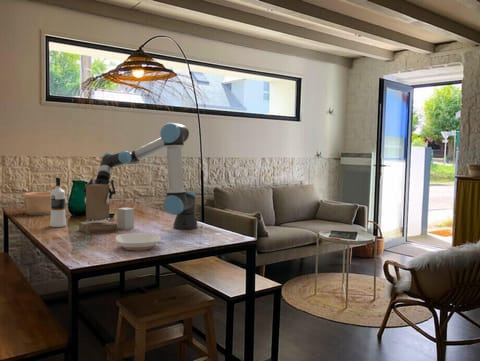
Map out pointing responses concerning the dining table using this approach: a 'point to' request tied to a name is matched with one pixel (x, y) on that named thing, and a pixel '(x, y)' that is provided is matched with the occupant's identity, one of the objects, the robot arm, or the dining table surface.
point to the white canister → (125, 218)
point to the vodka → (58, 206)
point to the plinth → (97, 227)
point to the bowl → (138, 240)
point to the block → (97, 201)
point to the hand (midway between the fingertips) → (96, 202)
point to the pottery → (38, 203)
